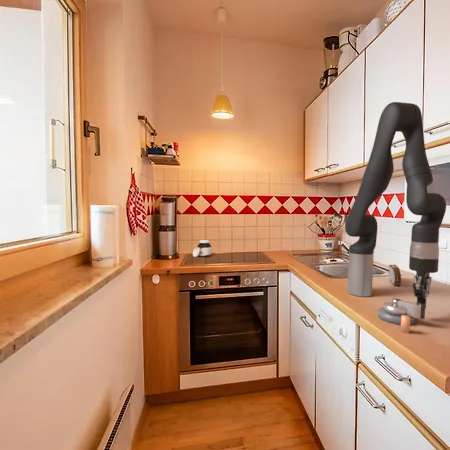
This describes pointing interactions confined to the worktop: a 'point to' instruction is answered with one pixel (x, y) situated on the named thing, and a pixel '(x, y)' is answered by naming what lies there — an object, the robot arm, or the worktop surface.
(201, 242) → the spread jar
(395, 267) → the tin
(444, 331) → the worktop surface
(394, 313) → the dial
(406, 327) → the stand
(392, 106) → the robot arm
